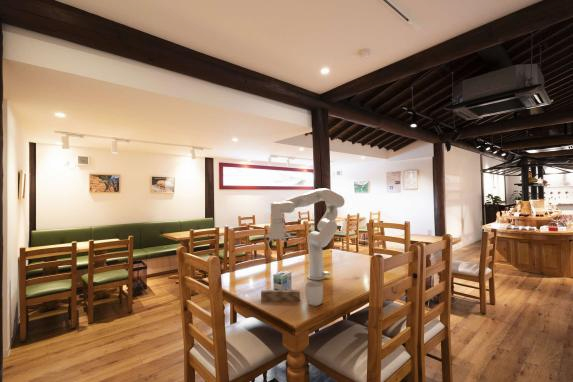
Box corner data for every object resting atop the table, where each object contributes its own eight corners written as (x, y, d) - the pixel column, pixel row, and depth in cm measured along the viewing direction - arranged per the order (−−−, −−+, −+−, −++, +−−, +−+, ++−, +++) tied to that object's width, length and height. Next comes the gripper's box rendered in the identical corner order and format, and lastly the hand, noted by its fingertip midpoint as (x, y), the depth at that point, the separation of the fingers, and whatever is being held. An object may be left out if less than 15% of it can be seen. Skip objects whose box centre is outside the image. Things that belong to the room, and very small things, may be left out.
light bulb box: (282, 295, 154) (282, 276, 154) (273, 293, 157) (272, 274, 157) (292, 289, 163) (291, 271, 163) (282, 287, 166) (282, 270, 166)
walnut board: (299, 299, 146) (299, 290, 147) (299, 301, 144) (299, 291, 144) (261, 299, 148) (261, 290, 148) (261, 301, 146) (260, 291, 146)
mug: (320, 307, 135) (319, 288, 135) (303, 305, 139) (303, 286, 139) (327, 298, 147) (326, 280, 147) (311, 296, 150) (310, 278, 150)
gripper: (291, 220, 176) (292, 246, 176) (266, 220, 180) (267, 246, 180) (288, 221, 168) (289, 249, 168) (262, 222, 172) (263, 248, 172)
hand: (278, 247), depth 174 cm, fingers open, 9 cm apart
